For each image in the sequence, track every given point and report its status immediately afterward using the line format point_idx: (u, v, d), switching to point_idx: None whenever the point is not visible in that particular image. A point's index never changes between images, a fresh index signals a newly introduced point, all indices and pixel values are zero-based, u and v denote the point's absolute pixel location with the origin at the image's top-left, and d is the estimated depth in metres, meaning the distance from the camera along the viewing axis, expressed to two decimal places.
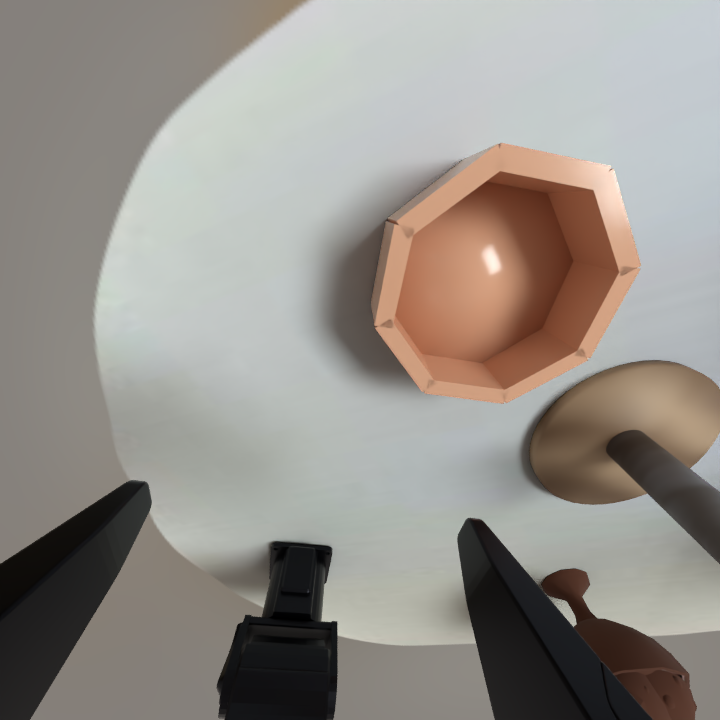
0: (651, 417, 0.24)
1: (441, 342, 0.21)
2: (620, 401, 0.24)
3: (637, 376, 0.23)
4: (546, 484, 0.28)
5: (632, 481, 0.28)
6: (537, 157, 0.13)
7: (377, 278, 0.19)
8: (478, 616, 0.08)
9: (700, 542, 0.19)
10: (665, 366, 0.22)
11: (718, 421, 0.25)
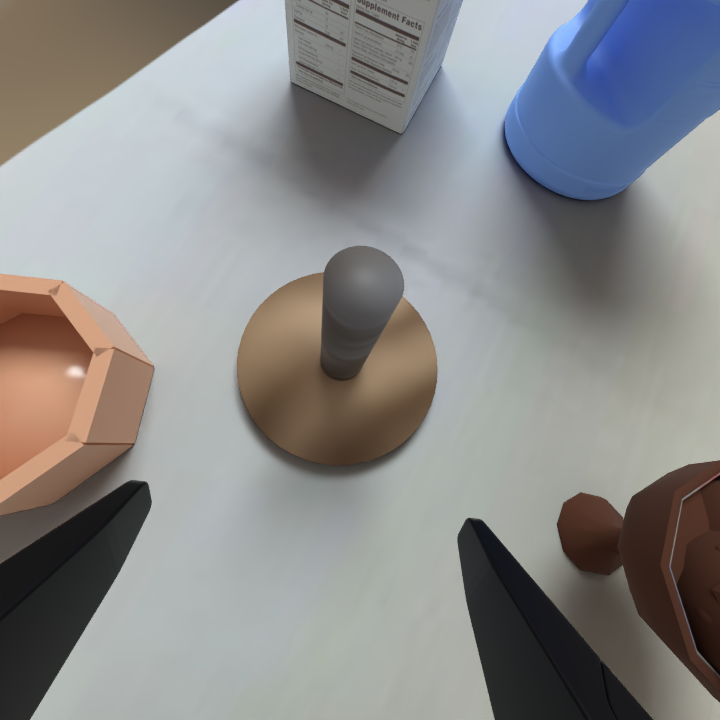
0: (321, 327, 0.23)
1: None
2: (276, 343, 0.22)
3: (258, 320, 0.23)
4: (342, 461, 0.21)
5: (406, 374, 0.23)
6: None
7: None
8: (478, 616, 0.08)
9: (347, 346, 0.15)
10: (268, 298, 0.23)
11: None
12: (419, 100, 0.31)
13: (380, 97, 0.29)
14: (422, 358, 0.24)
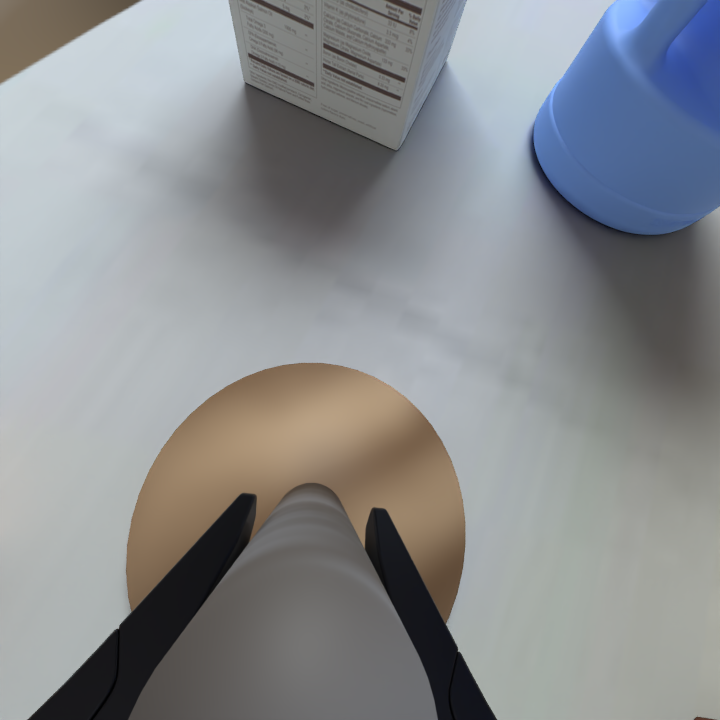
0: (276, 463, 0.14)
1: None
2: (199, 498, 0.13)
3: (170, 459, 0.14)
4: None
5: (415, 537, 0.14)
6: None
7: None
8: None
9: None
10: (189, 416, 0.14)
11: (358, 378, 0.16)
12: (420, 105, 0.23)
13: (366, 101, 0.20)
14: (441, 505, 0.15)
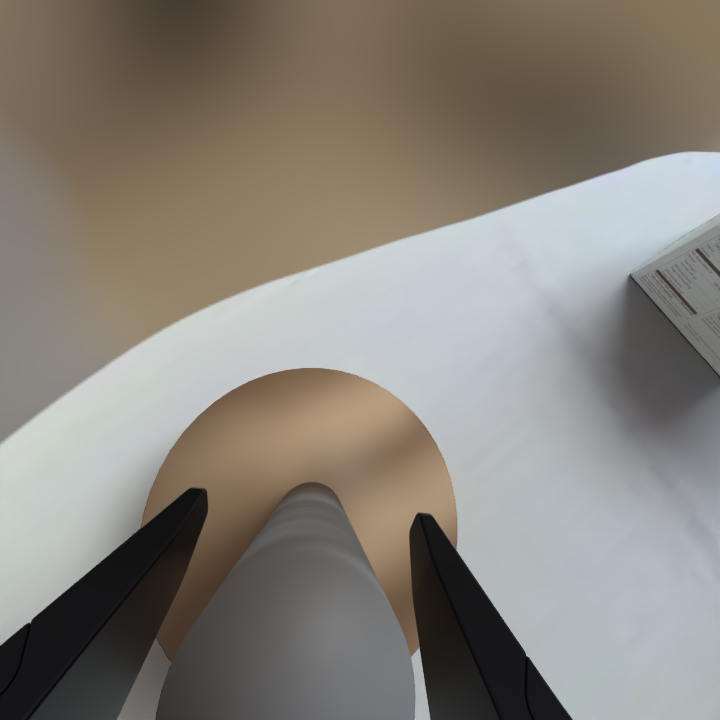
0: (278, 463, 0.15)
1: None
2: None
3: (178, 460, 0.15)
4: None
5: None
6: None
7: None
8: (420, 612, 0.07)
9: None
10: (196, 419, 0.15)
11: (356, 382, 0.17)
12: None
13: None
14: (434, 503, 0.16)
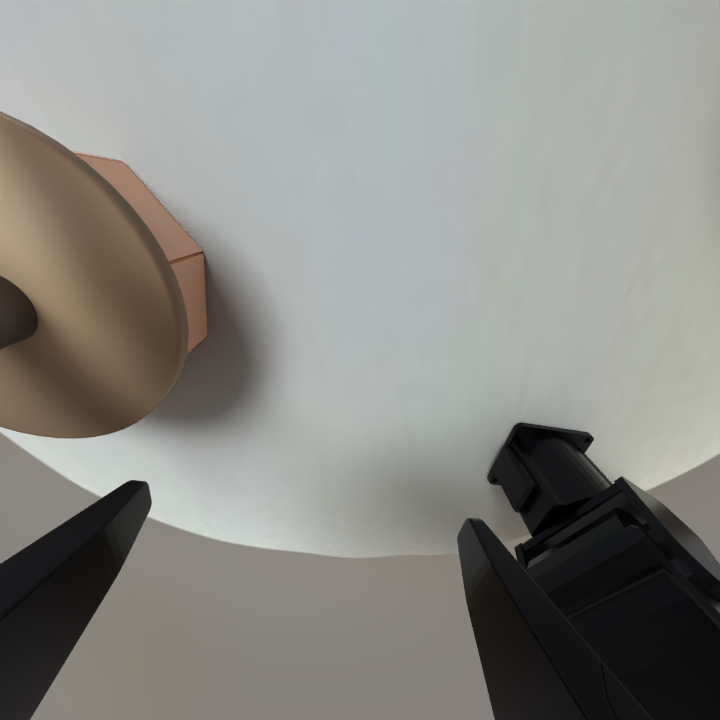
0: None
1: None
2: None
3: None
4: (171, 347, 0.14)
5: None
6: None
7: None
8: (478, 616, 0.08)
9: None
10: None
11: None
12: None
13: None
14: None
